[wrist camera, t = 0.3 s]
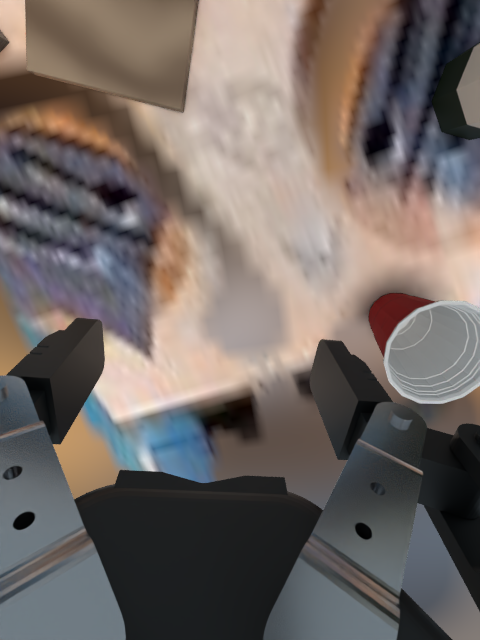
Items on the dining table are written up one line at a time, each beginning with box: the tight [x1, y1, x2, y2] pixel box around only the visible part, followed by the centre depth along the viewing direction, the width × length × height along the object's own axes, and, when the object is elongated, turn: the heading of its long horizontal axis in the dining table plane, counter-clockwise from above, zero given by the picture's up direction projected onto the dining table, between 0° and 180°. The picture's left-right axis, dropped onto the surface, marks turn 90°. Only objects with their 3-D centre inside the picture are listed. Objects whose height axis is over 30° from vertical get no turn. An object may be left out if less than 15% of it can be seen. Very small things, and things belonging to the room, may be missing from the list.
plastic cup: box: [369, 293, 480, 404], centre depth 36 cm, size 11×11×12 cm
